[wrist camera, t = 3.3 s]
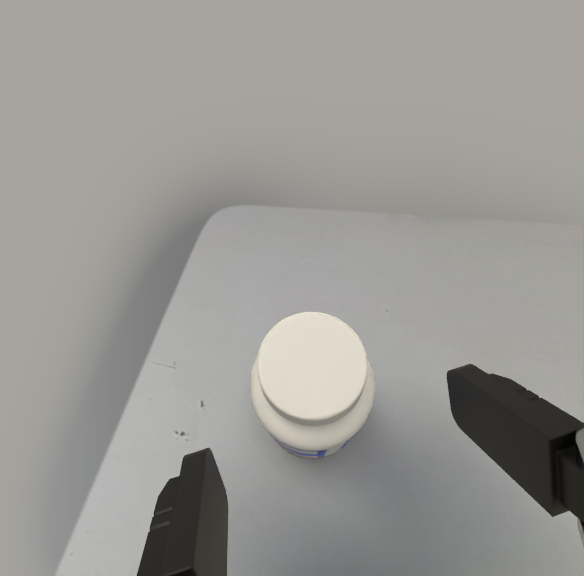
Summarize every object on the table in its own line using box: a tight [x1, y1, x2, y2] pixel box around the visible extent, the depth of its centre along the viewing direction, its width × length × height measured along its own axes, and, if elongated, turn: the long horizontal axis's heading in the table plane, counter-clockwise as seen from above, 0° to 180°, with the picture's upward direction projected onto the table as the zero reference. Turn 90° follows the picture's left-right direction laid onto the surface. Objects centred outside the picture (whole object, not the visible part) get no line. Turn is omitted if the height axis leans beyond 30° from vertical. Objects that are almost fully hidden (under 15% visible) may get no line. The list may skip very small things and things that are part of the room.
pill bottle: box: [250, 312, 375, 458], centre depth 16 cm, size 5×5×10 cm
